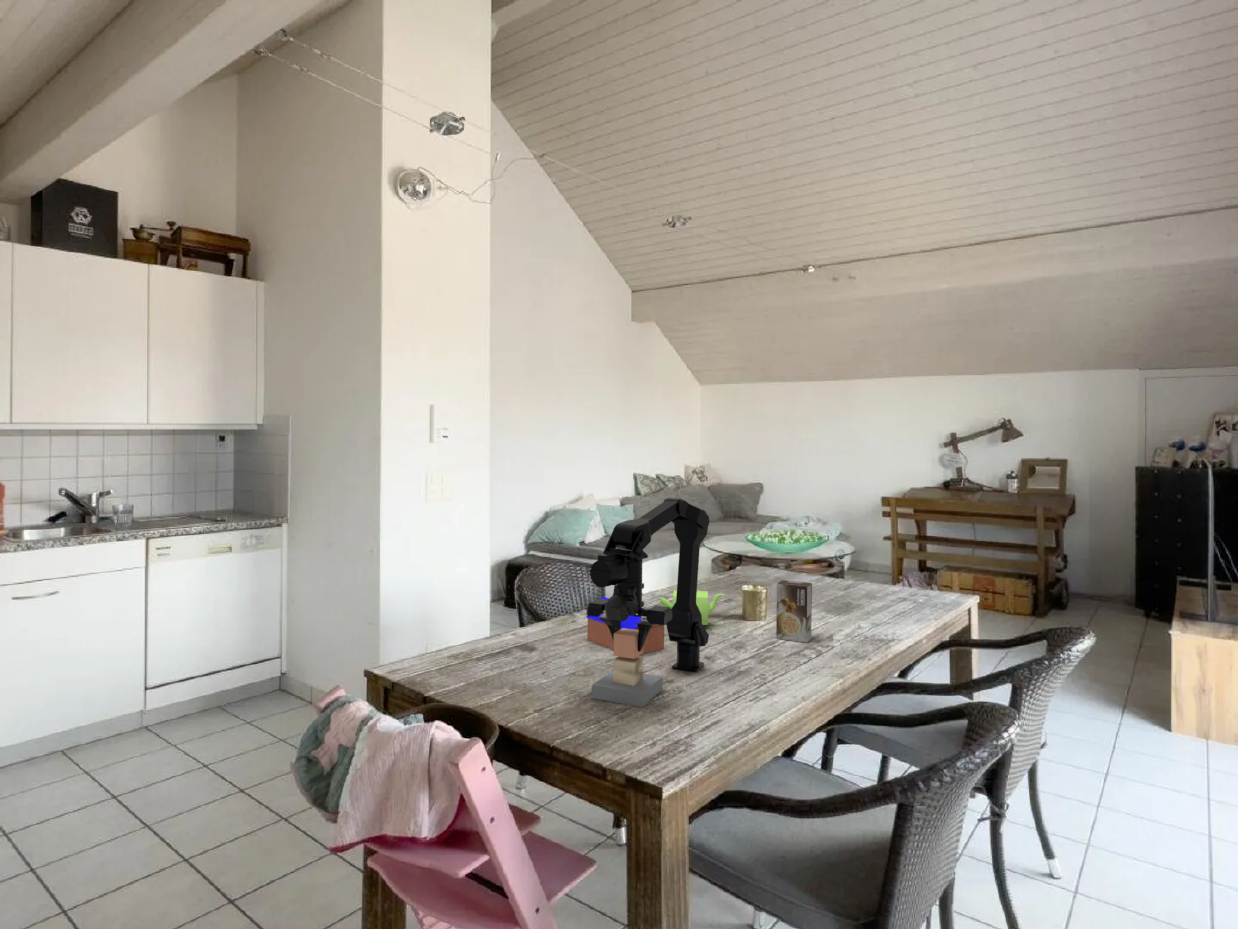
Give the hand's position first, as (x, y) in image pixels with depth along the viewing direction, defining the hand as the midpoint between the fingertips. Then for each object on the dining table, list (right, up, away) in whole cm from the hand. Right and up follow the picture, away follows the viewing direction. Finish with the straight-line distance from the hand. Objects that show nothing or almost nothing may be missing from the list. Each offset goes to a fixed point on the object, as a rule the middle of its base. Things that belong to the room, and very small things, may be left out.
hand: (628, 649), depth 162 cm
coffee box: (+48, -9, +47) cm, 68 cm away
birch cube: (0, -7, 0) cm, 7 cm away
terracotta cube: (0, -1, 0) cm, 1 cm away
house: (0, -9, +39) cm, 40 cm away
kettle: (+20, -8, +59) cm, 63 cm away
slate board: (0, -10, 0) cm, 10 cm away
